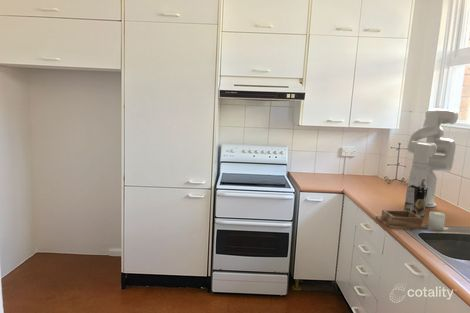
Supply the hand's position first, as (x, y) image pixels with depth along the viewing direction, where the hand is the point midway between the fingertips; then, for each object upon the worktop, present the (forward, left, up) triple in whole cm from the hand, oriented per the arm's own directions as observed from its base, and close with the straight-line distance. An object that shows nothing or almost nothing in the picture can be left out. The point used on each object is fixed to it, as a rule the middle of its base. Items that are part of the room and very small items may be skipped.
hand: (416, 196), depth 192 cm
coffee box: (0, 0, -11) cm, 11 cm away
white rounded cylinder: (+18, +1, -11) cm, 21 cm away
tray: (+14, -15, -11) cm, 23 cm away
